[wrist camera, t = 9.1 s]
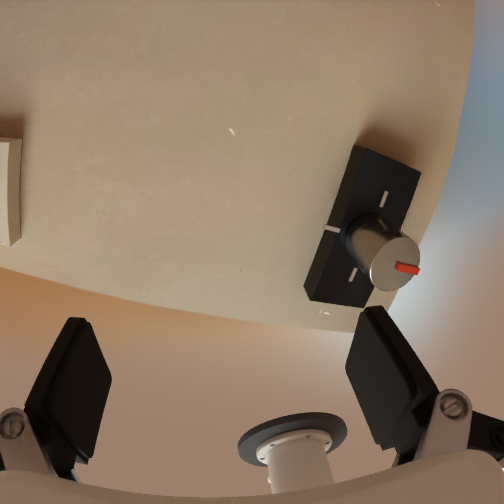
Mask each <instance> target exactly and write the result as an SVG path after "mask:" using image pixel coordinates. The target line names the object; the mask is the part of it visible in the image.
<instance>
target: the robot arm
mask: <svg viewBox="0 0 504 504" xmlns="http://www.w3.org/2000/svg"><path fill="white" fill-rule="evenodd" d="M345 369H346V373H347V376H348V378H349V380H350V383H351V385H352V387H353V390H354V392H355V395H356V397H357V399H358V402H359V404H360V407H361V409H362V411H363V414H364V416H365V419H366V421H367V424H368V426H369V428H370V431H371V434H372V436H373V438H374V441H375V443H376V444H378V445H379V444H380V446H381V448H382V451H383V450H386V449H389V448H393V447H395V450H396V452H397V455H396V458H395V460H394V463H393V465H392V467H391V468H390V469H388V470H384V471H381V472H378V473H374V474H370V475H367V476H363V477H360V478H356V479H353V480H349V481H344V482H340V483H335V484H334V481H333V477H332V474H331V470H330V467H329V463H328V460H327V456H326V453H325V452H326V451H327V450H328V449H329V448H330V447H331V445H332V439H331V436H330V434H329V433H327V432H325V431H322V430H317V429H303V430H296V431H290V432H286V433H283V434H280V435H277V436H274V437H272V438H270V439H268V440H266V441H264V442H263V443H262V444H260V446H259V447H258V448H257V450H256V455H257V459H258V460H259V461H260V462H262V463H264V464H267V465H268V470H269V476H268V478H267V481H268V482H269V483H271V489H272V494H268V495H258V496H247V497H246V496H245V497H221V498H195V497H173V496H159V495H149V494H141V493H133V492H126V491H119V490H113V489H108V488H103V487H97V486H93V485H88V484H83V483H81V481H80V479H79V477H78V476H77V474H76V472H75V470H74V464H75V462H78V463H82V464H88V460H89V458H92V456H93V454H94V449H95V444H96V440H97V436H98V432H99V427H100V423H101V419H102V416H103V412H104V408H105V404H106V400H107V397H108V393H109V389H110V386H111V381H112V377H111V373H110V370H109V368H108V366H107V364H106V361H105V359H104V357H103V354H102V352H101V349H100V347H99V344H98V342H97V339H96V336H95V334H94V331H93V328H92V326H91V324H90V323H89V322H87V321H86V319H85V318H78V317H70V318H68V320H67V321H66V323H65V325H64V327H63V329H62V330H61V332H60V334H59V336H58V338H57V339H56V341H55V343H54V345H53V347H52V349H51V351H50V352H49V355H48V356H47V358H46V360H45V362H44V364H43V366H42V368H41V370H40V372H39V374H38V376H37V379H36V381H35V383H34V385H33V387H32V389H31V391H30V394H29V396H28V398H27V400H26V403H25V408H24V410H21V409H19V408H9V409H6V410H5V411H3V412H2V413H1V414H0V504H504V421H502V420H499V419H496V418H493V417H490V416H487V415H484V414H481V413H478V412H475V411H473V410H472V404H471V401H470V399H469V398H468V397H467V396H466V395H465V394H464V393H463V392H461V391H459V390H456V389H445V390H443V391H441V392H439V390H438V389H437V386H436V384H435V383H434V381H433V380H432V378H431V377H430V375H429V373H428V372H427V370H426V369H425V367H424V366H423V364H422V363H421V361H420V360H419V358H418V357H417V355H416V354H415V352H414V351H413V349H412V348H411V346H410V345H409V343H408V342H407V340H406V339H405V337H404V336H403V334H402V333H401V331H400V330H399V329H398V327H397V326H396V324H395V323H394V321H393V320H392V319H391V317H390V316H389V315H388V313H387V312H386V310H385V309H384V307H383V306H381V305H379V306H371V307H366V308H365V309H364V311H363V312H361V313H360V315H359V319H358V323H357V327H356V330H355V334H354V337H353V341H352V344H351V348H350V351H349V354H348V358H347V361H346V366H345Z"/></svg>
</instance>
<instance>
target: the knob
mask: <svg viewBox="0 0 504 504" xmlns="http://www.w3.org/2000/svg"><path fill="white" fill-rule="evenodd" d="M345 246H346V250H347V252H348V254H349V255H350V256H351V258H352V259H353V260H354V261H355V262H356V264H357V265H358V266H359V267H360V269H361V270H362V271H363V272H364V274H365V275H366V276H367V277H368V279H369V280H370V281H371V283H372V284H373V285H374V286H375V287H376V288H377V289H379V290H382V291H393V290H396V289H399V288H401V287H402V286H404V285H405V284H406V283H407V282H409V281H410V280H411V278H412V277H413V276H414V275H417V274H418V272H419V270H420V269H419V268H418V266H419V262H420V251H419V248H418V246H417V244H416V243H415V242H414V241H413V240H412V239H411V238H409V237H408V236H407V235H406V234H404V233H403V232H402V231H401V230H399V229H398V228H397V227H395V226H394V225H393V224H391V223H390V222H389V221H387V220H386V219H385V218H383V217H382V216H380V215H377V214H367V215H364V216H361V217H360V218H358V219H357V220H355V221H354V222H353V223H352V225H351V226H350V228H349V229H348V232H347V234H346V239H345Z"/></svg>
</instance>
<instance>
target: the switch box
mask: <svg viewBox="0 0 504 504" xmlns="http://www.w3.org/2000/svg"><path fill="white" fill-rule="evenodd" d="M21 149H22V139H18V138H2V137H0V244H2V245H6V246H9V247H10V246H12V245H13V244H14V243H15V242H16V241H18V240H19V239H20V238H21V231H20V201H19V192H20V163H21Z"/></svg>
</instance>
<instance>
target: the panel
mask: <svg viewBox="0 0 504 504" xmlns="http://www.w3.org/2000/svg"><path fill="white" fill-rule="evenodd" d="M420 175H421V172H420V171H417V170H415V169H413V168H411V167H409V166H407V165H405V164H402V163H400V162H398V161H396V160H393V159H391V158H389V157H386V156H384V155H382V154H379V153H377V152H374V151H372V150H370V149H367V148H364V147H361V146H357V145H354V146H353V149H352V152H351V155H350V158H349V161H348V164H347V167H346V170H345V174H344V177H343V180H342V183H341V185H340V188H339V191H338V194H337V197H336V200H335V203H334V206H333V209H332V211H331V214H330V217H329V220H328V223H327V225H326V224H325V225H324V229H325V231H324V234H323V236H322V239H321V242H320V244H319V247H318V250H317V252H316V255H315V258H314V260H313V263H312V266H311V268H310V271H309V273H308V276H307V278H306V281H305V283H304V288H305V291H306V293H307V295H308V297H309V300H310V301H317V302H324V303H330V304H337V305H344V306H352V307H359V308H364V307H365V305H366V303H367V301H368V299H369V297H370V295H371V293H372V291H373V289H374V287H375V286H374V285H373V284H372V283H371V281H370V280H369V279H368V277H367V276H366V275H365V274H364V272H363V271H362V270H361V269H360V267H359V266H358V265H357V264H356V262H355V261H354V260H353V259H352V258H351V256H350V255H349V254H348V252H347V250H346V246H345V239H346V234H347V232H348V229H349V228H350V226H351V225H352V223H353V222H354V221H355V220H357V219H358V218H360V217H361V216H364V215H367V214H377V215H380V216H382V217H383V218H385V219H386V220H387V221H389V222H390V223H391V224H393V225H394V226H395V227H397V228H398V229H399V230H400V229H401V226H402V224H403V221H404V219H405V216H406V214H407V211H408V209H409V206H410V203H411V201H412V198H413V195H414V192H415V190H416V187H417V184H418V181H419V178H420Z"/></svg>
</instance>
